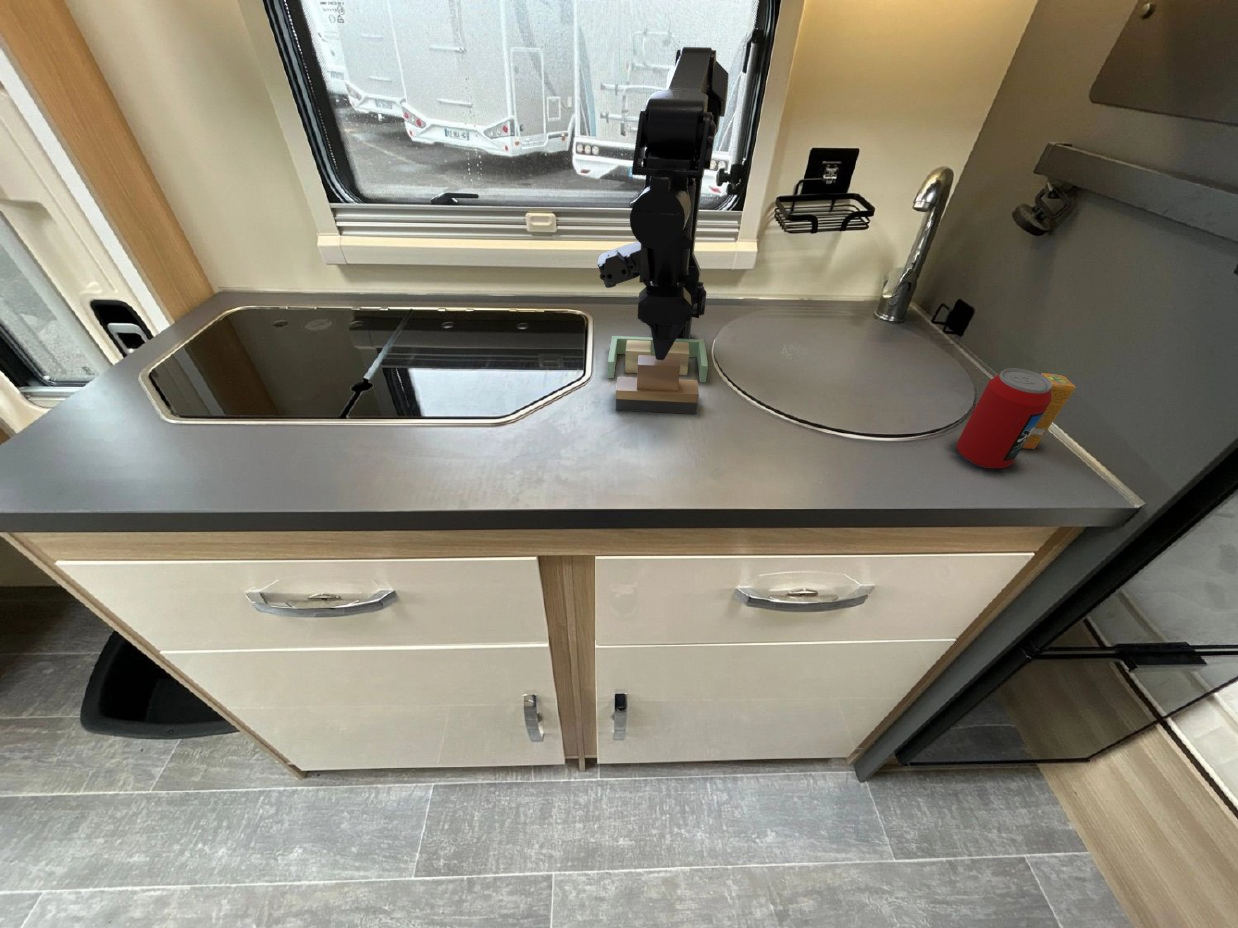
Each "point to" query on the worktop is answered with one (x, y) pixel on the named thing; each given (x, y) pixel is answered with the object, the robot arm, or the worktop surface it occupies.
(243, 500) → the worktop surface
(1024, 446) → the supplement box
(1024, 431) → the beverage can
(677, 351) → the block
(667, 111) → the robot arm
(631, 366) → the block
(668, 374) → the brush
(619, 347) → the corral
